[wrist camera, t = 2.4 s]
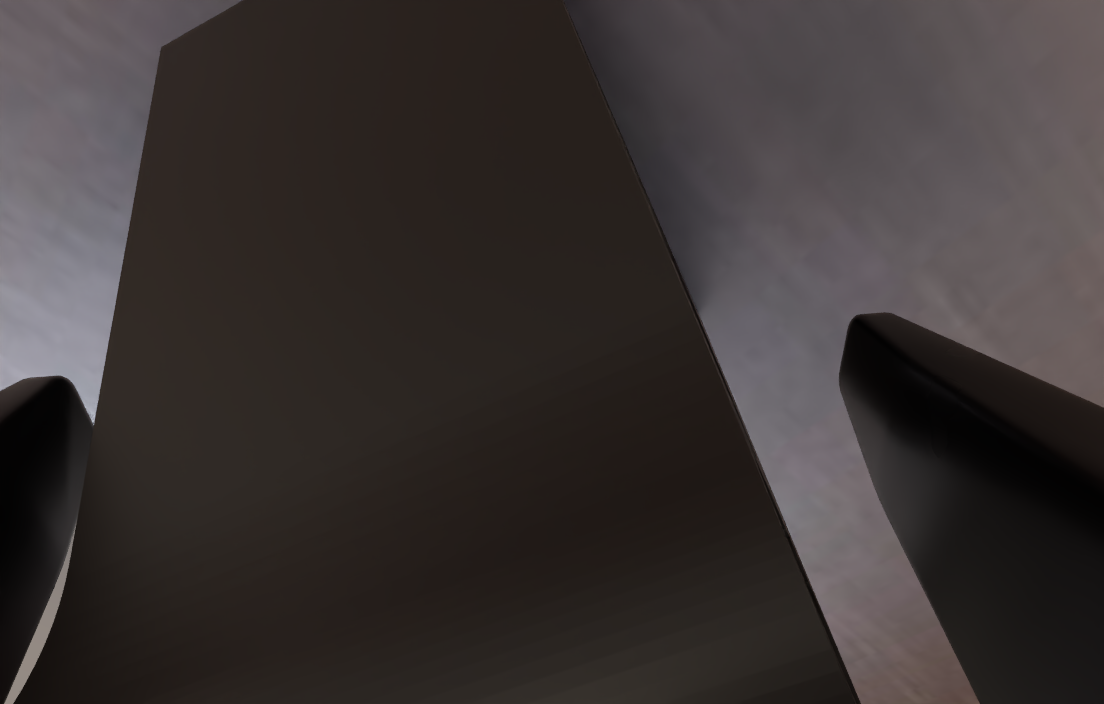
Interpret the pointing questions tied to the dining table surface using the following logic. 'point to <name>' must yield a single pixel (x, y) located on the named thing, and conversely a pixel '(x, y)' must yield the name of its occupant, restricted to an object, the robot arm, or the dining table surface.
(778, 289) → the dining table surface
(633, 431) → the phone stand
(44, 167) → the dining table surface
